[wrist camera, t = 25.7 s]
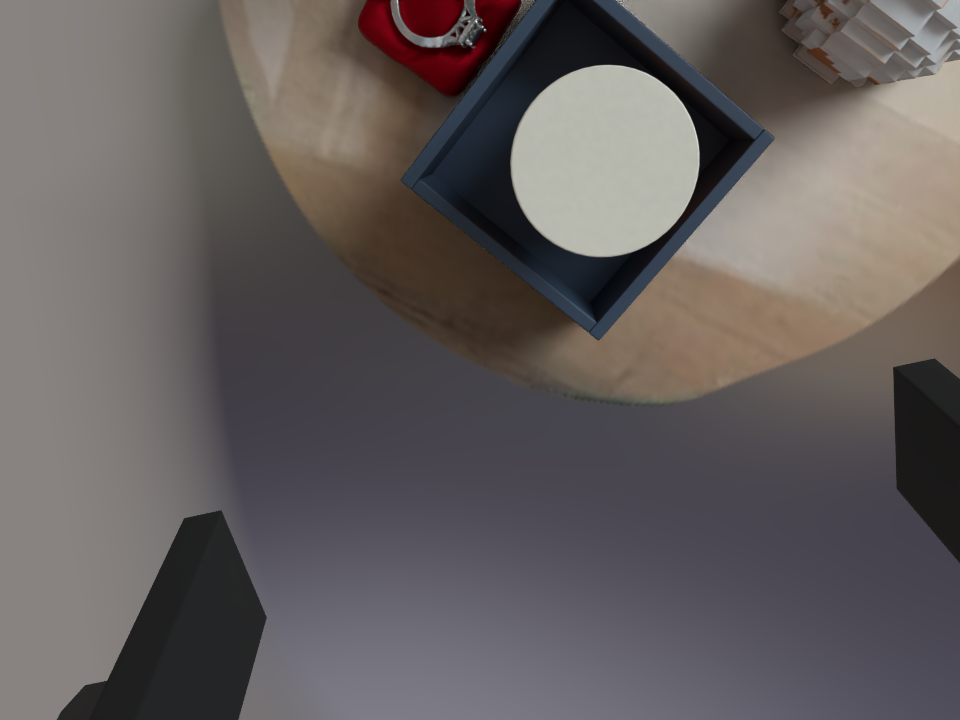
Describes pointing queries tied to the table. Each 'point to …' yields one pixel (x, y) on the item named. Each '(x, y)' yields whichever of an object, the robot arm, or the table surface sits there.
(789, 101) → the table surface
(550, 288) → the open box
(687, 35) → the table surface
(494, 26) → the engagement ring
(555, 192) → the container
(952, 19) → the decorative ornament
